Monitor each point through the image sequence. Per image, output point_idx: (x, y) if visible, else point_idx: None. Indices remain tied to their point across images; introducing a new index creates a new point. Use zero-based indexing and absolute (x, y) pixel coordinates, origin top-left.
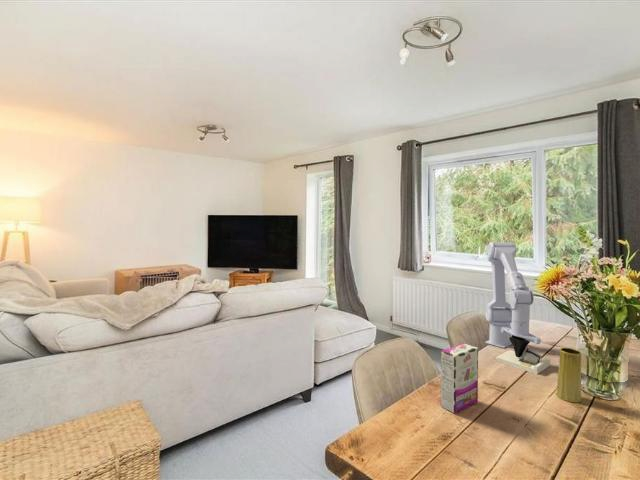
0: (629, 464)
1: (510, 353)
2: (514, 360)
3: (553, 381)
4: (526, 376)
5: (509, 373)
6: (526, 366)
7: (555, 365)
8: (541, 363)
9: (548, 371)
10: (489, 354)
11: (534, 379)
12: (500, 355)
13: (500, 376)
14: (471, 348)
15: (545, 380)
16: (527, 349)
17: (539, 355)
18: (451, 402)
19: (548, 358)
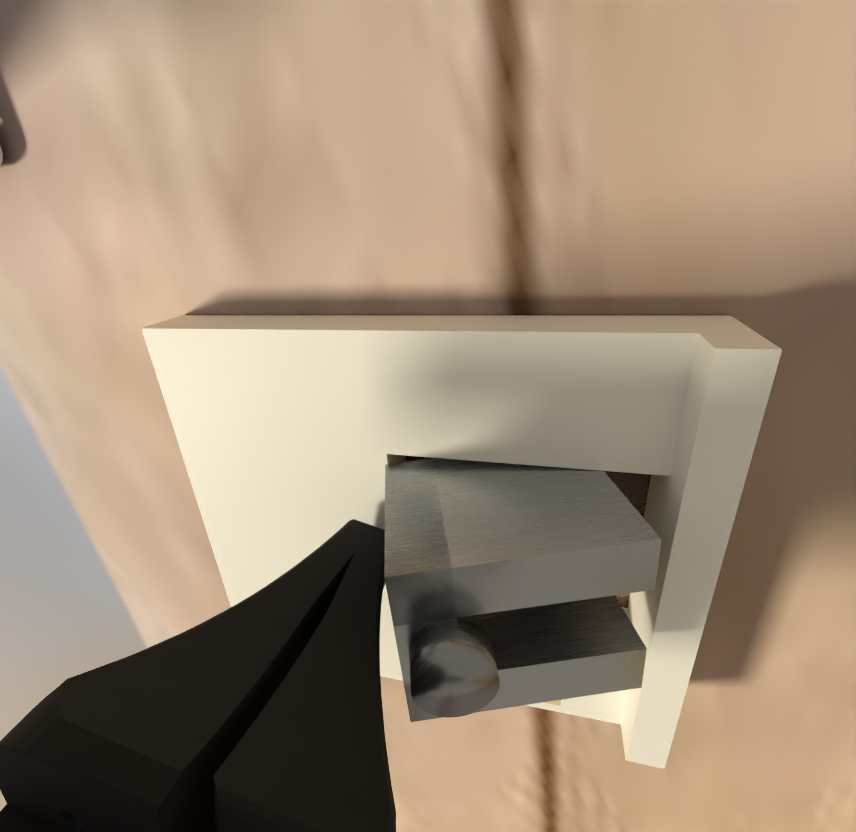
0: None
1: (231, 452)
2: (382, 628)
3: (828, 750)
4: (583, 756)
5: (464, 761)
6: (537, 703)
7: (822, 229)
8: (682, 650)
9: (744, 549)
10: (132, 501)
11: (656, 778)
12: (229, 582)
13: (449, 818)
14: None
15: (749, 760)
16: (437, 701)
17: (624, 575)
18: None
19: (747, 361)
